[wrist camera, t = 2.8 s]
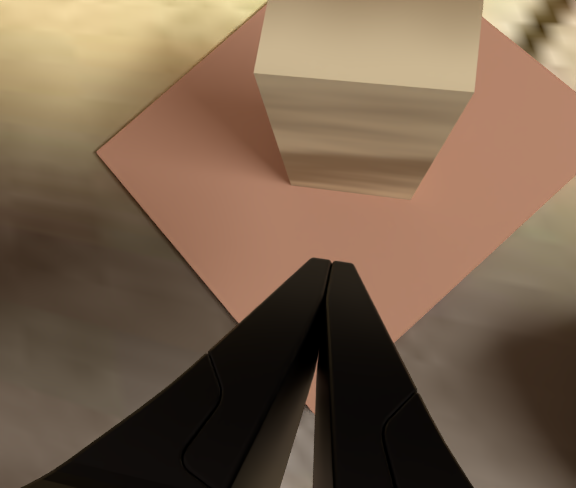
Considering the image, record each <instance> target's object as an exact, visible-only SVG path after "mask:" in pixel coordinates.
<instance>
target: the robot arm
mask: <svg viewBox="0 0 576 488" xmlns="http://www.w3.org/2000/svg"><path fill="white" fill-rule="evenodd" d="M317 360H318V363H317ZM316 365H317V374H316V400H315V431H314V463H313V488H474V487H473V486H472V484H471V483H470V481H469V480H468V478H467V477H466V475H465V473H464V472H463V470H462V469H461V467H460V465H459V464H458V462H457V461H456V459H455V457H454V456H453V454H452V453H451V451H450V449H449V448H448V446H447V445H446V443H445V441H444V439H443V437H442V436H441V434H440V432H439V430H438V428H437V426H436V425H435V423H434V421H433V419H432V417H431V416H430V414H429V412H428V410H427V408H426V406H425V404H424V402H423V400H422V398H421V396H420V394H419V393H417V388H416V386H415V384H414V382H413V380H412V378H411V376H410V374H409V372H408V370H407V368H406V367H405V365H404V363H403V361H402V359H401V357H400V355H399V353H398V351H397V349H396V347H395V345H394V343H393V341H392V339H391V337H390V335H389V333H388V331H387V329H386V327H385V325H384V323H383V321H382V319H381V317H380V315H379V313H378V311H377V309H376V307H375V305H374V303H373V301H372V299H371V297H370V295H369V293H368V291H367V289H366V287H365V285H364V283H363V281H362V279H361V277H360V275H359V273H358V272H357V270H356V268H355V266H354V264H352V263H349V262H342V261H333V263H332V262H331V261H330V260H328V259H322V258H315V257H313V258H310V259H309V260H308V261H307V262H306V263H305V264H304V265H303V266H301V267H300V268H299V269H298V270H297V271H296V272H295V273H294V274H293V275H292V276H290V277H289V278H288V279H287V280H286V281H285V282H284V283H283V284H282V285H281V286H279V287H278V288H277V289H276V290H275V291H274V292H273V293H272V294H271V295H270V296H268V297H267V298H266V299H265V300H264V301H263V302H262V303H261V304H260V305H259V306H257V307H256V308H255V309H254V310H253V311H252V312H251V313H250V314H249V315H247V316H246V317H245V318H244V319H243V320H242V321H241V322H240V323H239V324H238V325H236V326H235V327H234V328H233V329H232V330H231V331H230V332H229V333H228V334H227V335H225V336H224V337H223V338H222V339H221V340H220V341H219V342H218V343H217V344H216V345H214V346H213V347H212V348H211V349H210V350H209V351H208V354H204V355H203V356H202V357H201V358H200V359H199V360H198V361H197V362H195V363H194V364H193V365H192V366H191V367H190V368H189V369H188V370H186V371H185V372H184V373H183V374H182V375H181V376H179V377H178V378H177V379H176V380H175V381H174V382H172V383H171V384H170V385H169V386H168V387H166V388H165V389H164V390H162V391H161V392H160V393H158V394H157V395H156V396H155V397H153V398H152V399H151V400H149V401H148V402H147V403H145V404H144V405H143V406H141V407H140V408H139V409H137V410H136V411H135V412H133V413H132V414H131V415H129V416H128V417H126V418H125V419H124V420H122V421H121V422H120V423H118V424H117V425H115V426H114V427H113V428H111V429H110V430H109V431H107V432H106V433H105V434H103V435H102V436H100V437H99V438H98V439H96V440H95V441H94V442H92V443H91V444H89V445H88V446H87V447H85V448H84V449H83V450H81V451H80V452H78V453H77V454H76V455H74V456H73V457H72V458H70V459H69V460H67V461H66V462H64V463H63V464H62V465H60V466H59V467H57V468H56V469H54V470H53V471H51V472H49V473H48V474H46V475H44V476H42V477H41V478H39V479H37V480H35V481H33V482H31V483H29V484H27V485H25V486H23V487H21V488H280V486H281V482H282V479H283V476H284V472H285V469H286V466H287V462H288V459H289V456H290V453H291V449H292V446H293V443H294V439H295V436H296V433H297V430H298V426H299V423H300V420H301V416H302V413H303V410H304V406H305V403H306V400H307V397H308V393H309V390H310V387H311V383H312V380H313V377H314V373H315V369H316Z"/></svg>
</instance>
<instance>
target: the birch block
mask: <svg viewBox="0 0 576 488" xmlns="http://www.w3.org/2000/svg"><path fill="white" fill-rule="evenodd" d="M482 10H483V0H268V1H267V6H266V12H265V17H264V22H263V27H262V32H261V37H260V42H259V48H258V53H257V58H256V63H255V68H254V76H255V79H256V82H257V85H258V88H259V91H260V94H261V97H262V100H263V103H264V106H265V109H266V112H267V115H268V118H269V121H270V124H271V127H272V130H273V133H274V136H275V139H276V142H277V145H278V148H279V151H280V154H281V157H282V160H283V163H284V166H285V169H286V172H287V175H288V178H289V181H290V184H291V185H292V186H300V187H308V188H316V189H325V190H333V191H341V192H349V193H357V194H365V195H373V196H381V197H389V198H397V199H406V200H411V198H412V196H413V195H414V193H415V191H416V190H417V188H418V186H419V185H420V183H421V181H422V180H423V178H424V176H425V175H426V173H427V171H428V169H429V168H430V166H431V164H432V163H433V161H434V159H435V158H436V156H437V154H438V153H439V151H440V149H441V148H442V146H443V144H444V143H445V141H446V139H447V137H448V136H449V134H450V132H451V131H452V129H453V127H454V126H455V124H456V122H457V121H458V119H459V117H460V116H461V114H462V112H463V111H464V109H465V107H466V105H467V104H468V102H469V100H470V99H471V97H472V95H473V94H474V91H475V81H476V71H477V61H478V50H479V40H480V30H481V20H482Z"/></svg>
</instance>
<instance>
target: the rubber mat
mask: <svg viewBox="0 0 576 488" xmlns="http://www.w3.org/2000/svg"><path fill="white" fill-rule="evenodd" d="M266 6H267V4H266V5H265V6H264V7H263V8H262V9H260V10H259V11H258V12H257V13H256V14H255V15H253V16H252V17H251V18H250V19H249V20H248V21H247V22H245V23H244V24H243V25H242V26H241V27H240V28H238V29H237V30H236V31H235V32H234V33H233V34H232V35H230V36H229V37H228V38H227V39H226V40H225V41H223V42H222V43H221V44H220V45H219V46H218V47H217V48H215V49H214V50H213V51H212V52H211V53H210V54H208V55H207V56H206V57H205V58H204V59H203V60H202V61H200V62H199V63H198V64H197V65H196V66H195V67H193V68H192V69H191V70H190V71H189V72H188V73H187V74H185V75H184V76H183V77H182V78H181V79H180V80H178V81H177V82H176V83H175V84H174V85H173V86H172V87H170V88H169V89H168V90H167V91H166V92H165V93H163V94H162V95H161V96H160V97H159V98H158V99H157V100H155V101H154V102H153V103H152V104H151V105H150V106H148V107H147V108H146V109H145V110H144V111H143V112H141V113H140V114H139V115H138V116H137V117H136V118H135V119H133V120H132V121H131V122H130V123H129V124H128V125H126V126H125V127H124V128H123V129H122V130H121V131H120V132H118V133H117V134H116V135H115V136H114V137H113V138H111V139H110V140H109V141H108V142H107V143H106V144H105V145H103V146H102V147H101V148H100V149H99V150H98V151H96V153H97V154H98V155H99V156H100V158H101V159H102V160H103V161H104V162H105V164H106V165H107V166H108V167H109V168H110V170H111V171H112V172H113V173H114V174H115V176H116V177H117V178H118V179H119V180H120V182H121V183H122V184H123V185H124V186H125V188H126V189H127V190H128V191H129V192H130V194H131V195H132V196H133V197H134V198H135V200H136V201H137V202H138V203H139V204H140V206H141V207H142V208H143V209H144V210H145V212H146V213H147V214H148V215H149V216H150V218H151V219H152V220H153V221H154V222H155V224H156V225H157V226H158V227H159V228H160V230H161V231H162V232H163V233H164V234H165V236H166V237H167V238H168V239H169V240H170V242H171V243H172V244H173V245H174V246H175V248H176V249H177V250H178V251H179V252H180V254H181V255H182V256H183V257H184V258H185V260H186V261H187V262H188V263H189V264H190V266H191V267H192V268H193V269H194V270H195V272H196V273H197V274H198V275H199V276H200V278H201V279H202V280H203V281H204V282H205V284H206V285H207V286H208V287H209V288H210V290H211V291H212V292H213V293H214V294H215V296H216V297H217V298H218V299H219V300H220V302H221V303H222V304H223V305H224V306H225V308H226V309H227V310H228V311H229V312H230V314H231V315H232V316H233V317H234V318H235V320H236V321H237V322H238V323H240V322H241V321H242V320H243V319H244V318H245V317H246V316H247V315H249V314H250V313H251V312H252V311H253V310H254V309H255V308H256V307H257V306H259V305H260V304H261V303H262V302H263V301H264V300H265V299H266V298H267V297H268V296H270V295H271V294H272V293H273V292H274V291H275V290H276V289H277V288H278V287H279V286H281V285H282V284H283V283H284V282H285V281H286V280H287V279H288V278H289V277H290V276H292V275H293V274H294V273H295V272H296V271H297V270H298V269H299V268H300V267H301V266H303V265H304V264H305V263H306V262H307V261H308V260H309V259H310V258H313V257H315V258H322V259H328V260H330V261H331V262H332V263H333V261H342V262H349V263H352V264H354V266H355V268H356V270H357V272H358V273H359V275H360V277H361V279H362V281H363V283H364V285H365V287H366V289H367V291H368V293H369V295H370V297H371V299H372V301H373V303H374V305H375V307H376V309H377V311H378V313H379V315H380V317H381V319H382V321H383V323H384V325H385V327H386V329H387V331H388V333H389V335H390V337H391V339H392V341H393V343H394V342H395V341H396V340H398V339H399V338H400V337H401V336H402V335H403V334H404V333H405V332H406V331H407V330H408V329H409V328H411V327H412V326H413V325H414V324H415V323H416V322H417V321H418V320H419V319H420V318H421V317H422V316H424V315H425V314H426V313H427V312H428V311H429V310H430V309H431V308H432V307H433V306H434V305H435V304H437V303H438V302H439V301H440V300H441V299H442V298H443V297H444V296H445V295H446V294H447V293H448V292H450V291H451V290H452V289H453V288H454V287H455V286H456V285H457V284H458V283H459V282H460V281H461V280H463V279H464V278H465V277H466V276H467V275H468V274H469V273H470V272H471V271H472V270H473V269H474V268H476V267H477V266H478V265H479V264H480V263H481V262H482V261H483V260H484V259H485V258H486V257H487V256H489V255H490V254H491V253H492V252H493V251H494V250H495V249H496V248H497V247H498V246H499V245H500V244H502V243H503V242H504V241H505V240H506V239H507V238H508V237H509V236H510V235H511V234H512V233H513V232H515V231H516V230H517V229H518V228H519V227H520V226H521V225H522V224H523V223H524V222H525V221H526V220H528V219H529V218H530V217H531V216H532V215H533V214H534V213H535V212H536V211H537V210H538V209H539V208H541V207H542V206H543V205H544V204H545V203H546V202H547V201H548V200H549V199H550V198H551V197H552V196H554V195H555V194H556V193H557V192H558V191H559V190H560V189H561V188H562V187H563V186H564V185H566V184H567V183H568V182H569V181H570V180H571V179H572V178H573V177H574V176H575V175H576V92H575V91H574V90H572V89H571V88H570V87H569V86H568V85H566V84H565V83H564V82H563V81H561V80H560V79H559V78H558V77H556V76H555V75H554V74H553V73H551V72H550V71H549V70H548V69H546V68H545V67H544V66H543V65H541V64H540V63H539V62H538V61H536V60H535V59H534V58H533V57H531V56H530V55H529V54H528V53H526V52H525V51H524V50H523V49H522V48H520V47H519V46H518V45H517V44H515V43H514V42H513V41H512V40H510V39H509V38H508V37H507V36H505V35H504V34H503V33H502V32H500V31H499V30H498V29H497V28H495V27H494V26H493V25H492V24H490V23H489V22H488V21H487V20H485V19H484V18H483V17H482V20H481V30H480V40H479V50H478V61H477V71H476V81H475V91H474V94H473V95H472V97H471V99H470V100H469V102H468V104H467V105H466V107H465V109H464V111H463V112H462V114H461V116H460V117H459V119H458V121H457V122H456V124H455V126H454V127H453V129H452V131H451V132H450V134H449V136H448V137H447V139H446V141H445V143H444V144H443V146H442V148H441V149H440V151H439V153H438V154H437V156H436V158H435V159H434V161H433V163H432V164H431V166H430V168H429V169H428V171H427V173H426V175H425V176H424V178H423V180H422V181H421V183H420V185H419V186H418V188H417V190H416V191H415V193H414V195H413V196H412V198H411V200H406V199H397V198H389V197H381V196H373V195H365V194H357V193H349V192H341V191H333V190H325V189H316V188H308V187H300V186H292V185H291V184H290V181H289V178H288V175H287V172H286V169H285V166H284V163H283V160H282V157H281V154H280V151H279V148H278V145H277V142H276V139H275V136H274V133H273V130H272V127H271V124H270V121H269V118H268V115H267V112H266V109H265V106H264V103H263V100H262V97H261V94H260V91H259V88H258V85H257V82H256V79H255V76H254V68H255V63H256V58H257V53H258V48H259V42H260V37H261V32H262V27H263V22H264V17H265V12H266ZM317 363H318V360H317ZM316 374H317V365H316V369H315V373H314V377H313V380H312V383H311V387H310V390H309V393H308V397H307V400H306V403H305V404H306V405H307V406H308V407H309V408H310V410H311V411H312V412H313V413H314V414H315V400H316Z"/></svg>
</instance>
